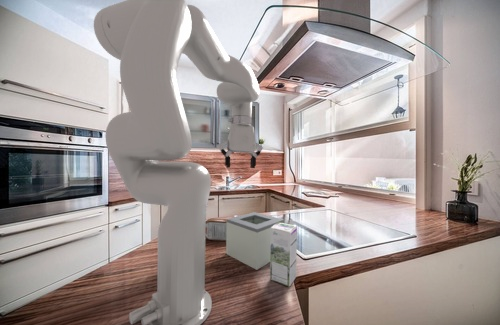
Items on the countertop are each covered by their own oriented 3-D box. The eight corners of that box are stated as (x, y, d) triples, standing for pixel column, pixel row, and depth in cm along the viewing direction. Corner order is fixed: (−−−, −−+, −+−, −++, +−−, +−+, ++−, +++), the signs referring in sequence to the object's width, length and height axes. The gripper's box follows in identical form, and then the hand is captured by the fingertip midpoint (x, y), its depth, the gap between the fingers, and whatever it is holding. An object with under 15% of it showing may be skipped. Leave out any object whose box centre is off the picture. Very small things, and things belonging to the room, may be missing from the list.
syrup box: (297, 276, 54) (297, 224, 54) (289, 288, 49) (290, 231, 49) (278, 270, 57) (278, 221, 57) (269, 280, 52) (270, 226, 52)
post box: (256, 269, 57) (257, 229, 57) (226, 253, 67) (226, 219, 67) (283, 254, 68) (283, 219, 68) (253, 242, 77) (254, 211, 77)
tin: (239, 239, 80) (239, 219, 80) (238, 242, 77) (238, 221, 77) (203, 237, 81) (203, 217, 81) (200, 240, 78) (201, 219, 78)
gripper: (220, 118, 67) (219, 167, 67) (266, 122, 73) (265, 168, 73) (217, 122, 75) (216, 167, 74) (259, 126, 80) (258, 168, 80)
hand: (240, 167), depth 74 cm, fingers open, 9 cm apart
